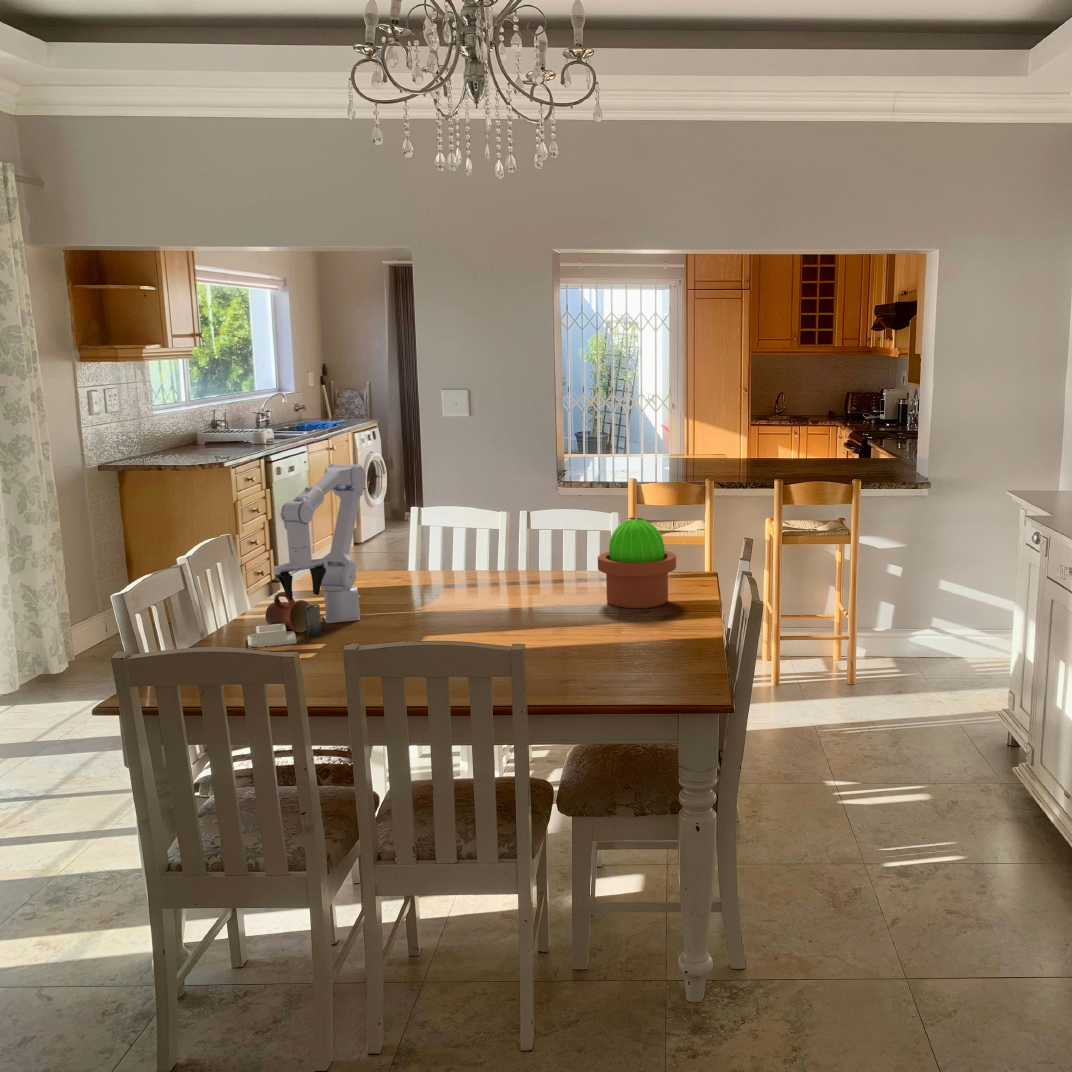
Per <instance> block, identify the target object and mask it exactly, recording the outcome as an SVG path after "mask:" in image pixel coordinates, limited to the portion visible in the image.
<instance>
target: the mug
mask: <svg viewBox="0 0 1072 1072" xmlns="http://www.w3.org/2000/svg"><path fill="white" fill-rule="evenodd" d="M282 597H283V598H285V599H286V600H287V601H281V600H280V598H282ZM306 605H309V602H308V601H307V600H304V599H299V600H296V601H295V599H294V598H293V600H288V599H287V597H286V594H285V591H282V592H281V591H280V592H278V593H277V594H275V596H274V598H273V602H272V603H270V604H269V605H268V606H267V608H266V610H265V622H266V623H267V625H274V624H283V623H285V627H286V630H290V631H294V632H296V633H304V632H307V629H306V616H305V606H306Z"/></svg>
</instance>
